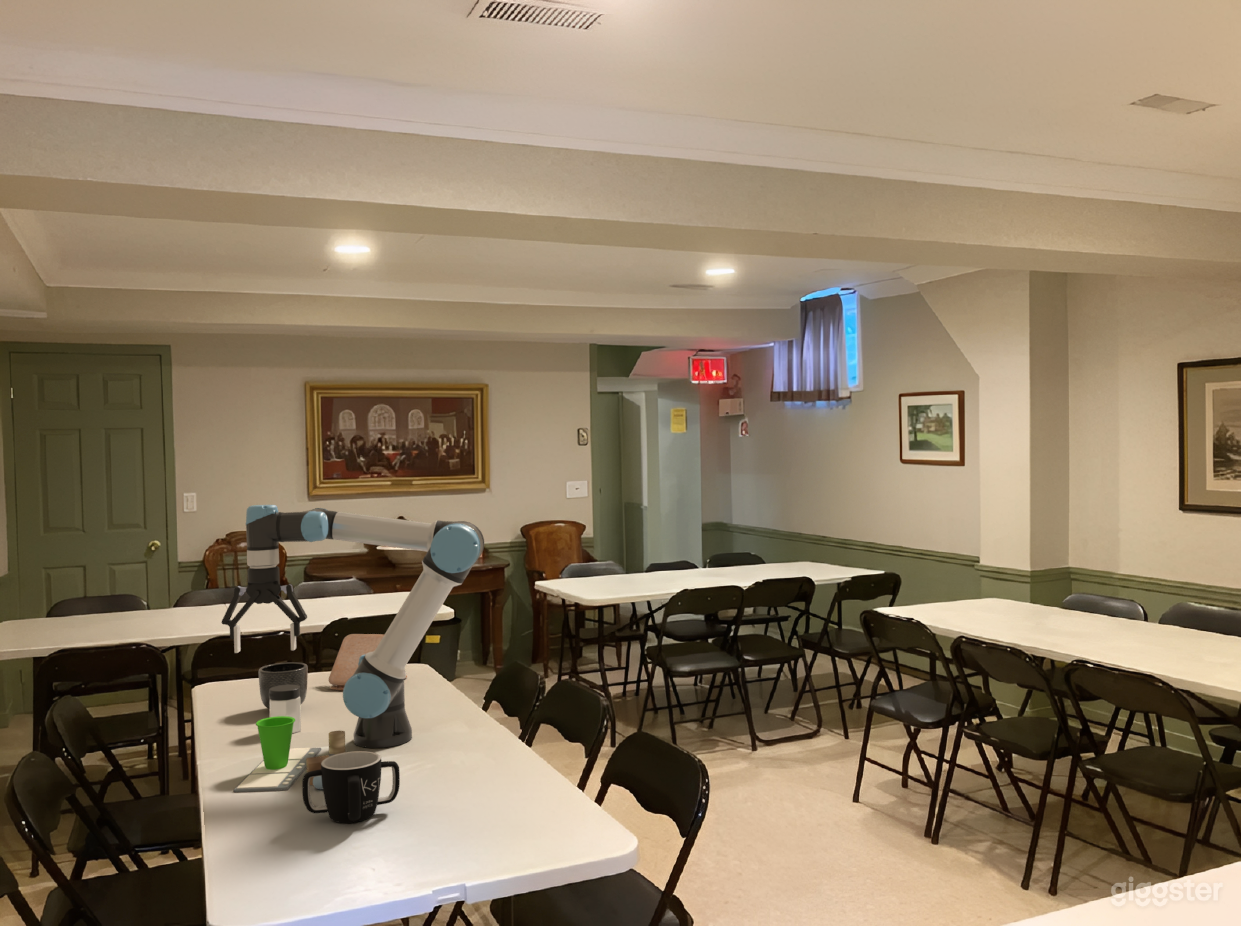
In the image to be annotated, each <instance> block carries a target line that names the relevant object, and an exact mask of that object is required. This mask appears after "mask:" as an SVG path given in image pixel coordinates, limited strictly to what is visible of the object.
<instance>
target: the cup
mask: <svg viewBox="0 0 1241 926" xmlns="http://www.w3.org/2000/svg"><path fill="white" fill-rule="evenodd" d="M294 722H295V719H294V718H293V717H288V716H277V717H270V716H269V717H265V718H262V719H258V720H257V721H256V722H255V726H257V731H258V737H259V741H260V747H261V753H262V758H263V760H264V764H265V767H266V769H270V770H275V769H281V768H284V767H286V766H287V764H288V758H289V751H290V748H291V743H292V742H291V741H292V737H293V733H292V730H293V723H294Z"/></svg>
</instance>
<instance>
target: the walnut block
mask: <svg viewBox="0 0 1241 926" xmlns="http://www.w3.org/2000/svg"><path fill="white" fill-rule="evenodd" d="M328 757H329V754H328V755H327V754H326V755H320V756H319V755H317V756H316V757H310V758H306V773H307V772H310V771H315V770H320V769H321V763H322V761H323V760H324V759H326V758H328ZM313 778H314V777H311V778H310V786H314V785H313Z"/></svg>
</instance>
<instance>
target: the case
mask: <svg viewBox="0 0 1241 926" xmlns="http://www.w3.org/2000/svg"><path fill="white" fill-rule="evenodd" d="M384 635H385V634H381V633H380V634H379V633H378V634H377V633H376V634H375V633H372V634H371V633H370V634H369V633H367V634H364V633H351V634H348V635H346V636H345V637H344V638H343V639H342V642H341V645H340V648H339V650H338V652H337V655H336V658H335V661H334V664H333V666H332V668H331V670H330V674H329V676H328V683H329V684H330V685H331V686H330V688H329V689H330V690H332V691H343V690H344V687H345V684H346V682H347V680H348V679H349V678H350V677H352V676H353V674H354V673H355V671H356V669H357V668H358V663H359V657H360V656H362V655H365V654H366V653H369V652H373V651H375V650H376V648H377V646H378V645H379V643H380V641H381V640H382V638H383V636H384ZM407 678H408V675H407V674H406V677H405V679H407ZM405 679H404V680H405Z"/></svg>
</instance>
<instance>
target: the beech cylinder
mask: <svg viewBox="0 0 1241 926" xmlns="http://www.w3.org/2000/svg"><path fill="white" fill-rule="evenodd" d="M345 752H346V731H345V730H332V731H329V732H328V755H329V754H335V755H336V754H340V753H345Z"/></svg>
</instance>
